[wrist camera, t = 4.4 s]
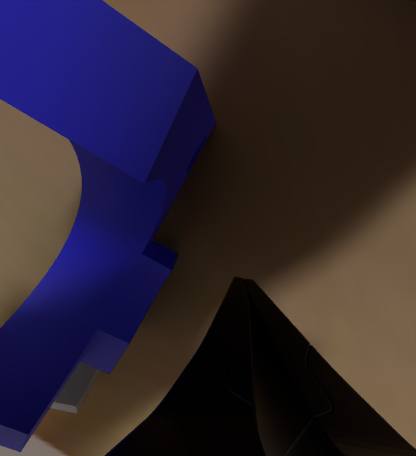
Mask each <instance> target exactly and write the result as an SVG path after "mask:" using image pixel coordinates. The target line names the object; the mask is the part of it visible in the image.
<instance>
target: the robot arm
mask: <svg viewBox="0 0 416 456" xmlns="http://www.w3.org/2000/svg"><path fill="white" fill-rule="evenodd" d="M105 456H416V449H415V448H414V447H413V446H412V445H410V444H409V443H408V442H407V441H406V440H405V439H404V438H403V437H402V436H401V435H400V434H399V433H398V432H397V431H396V430H395V429H394V428H393V427H392V426H390V425H389V424H388V423H387V422H386V421H385V420H384V419H383V418H382V417H381V416H380V415H379V414H378V413H377V412H376V411H375V410H374V409H373V408H372V407H371V406H370V405H369V404H368V403H367V402H366V401H365V400H364V399H363V398H362V397H361V396H360V395H359V394H358V393H357V392H356V391H355V390H354V389H353V388H352V387H351V386H350V385H349V384H348V383H347V382H346V381H345V380H344V379H343V378H342V377H341V376H340V375H339V374H338V373H337V372H336V371H335V370H334V369H333V368H332V367H331V366H330V365H329V363H328V362H327V361H326V360H325V359H324V358H323V357H322V356H321V355H320V354H319V353H318V351H317V350H316V349H315V348H314V347H313V346H312V345H310V343H309V342H308V340H307V339H306V338H305V337H304V336H303V335H302V334H301V333H300V332H299V330H298V329H297V328H296V327H295V326H294V325H293V324H292V323H291V321H290V320H289V319H288V318H287V317H286V316H285V315H284V314H283V313H282V311H281V310H280V309H279V308H278V307H277V306H276V305H275V304H274V302H273V301H272V300H271V299H270V298H269V297H268V296H267V295H266V294H265V292H264V291H263V290H262V289H261V288H260V287H259V286H258V285H257V284H256V282H255V281H254V280H251V279H243V278H240V277H234V278H233V280H232V282H231V284H230V286H229V289H228V291H227V293H226V295H225V297H224V299H223V301H222V303H221V305H220V307H219V309H218V311H217V313H216V315H215V318H214V320H213V322H212V324H211V326H210V328H209V330H208V332H207V334H206V336H205V338H204V339H203V341H202V343H201V345H200V347H199V348H198V350H197V351H196V353H195V354H194V356H193V358H192V359H191V361H190V362H189V363H188V365H187V366H186V368H185V369H184V371H183V372H182V373H181V375H180V376H179V378H178V379H177V381H176V382H175V383H174V385H173V386H172V388H171V389H170V391H169V392H168V393H167V395H166V396H165V397H164V399H163V400H162V401H161V402H160V404H159V405H158V406H157V407H156V409H155V410H154V411H153V412H152V413H151V414H150V415H149V416H148V417H147V418H146V419H145V420H144V421H143V422H142V423H141V424H139V425H138V426H137V427H136V428H135V429H134V430H133V431H132V432H130V433H129V434H128V435H127V436H126V437H125V438H124V439H123V440H122V441H120V442H119V443H118V444H117V445H116V446H115V447H114V448H113V449H111V450H110V451H109V452H108V453H107V454H106V455H105Z"/></svg>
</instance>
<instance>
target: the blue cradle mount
mask: <svg viewBox="0 0 416 456" xmlns="http://www.w3.org/2000/svg"><path fill="white" fill-rule="evenodd" d="M0 99H1V100H3V101H5V102H6V103H8V104H10V105H12V106H13V107H15V108H17V109H18V110H20V111H22V112H23V113H25V114H27V115H29V116H30V117H32V118H34V119H35V120H37V121H39V122H40V123H42V124H44V125H45V126H47V127H49V128H51V129H52V130H54V131H56V132H57V133H59V134H61V135H62V136H64V137H66V138H68V139H69V140H70V142H71V144H72V145H73V148H74V150H75V152H76V154H77V157H78V160H79V164H80V168H81V175H82V193H81V201H80V206H79V210H78V214H77V217H76V220H75V223H74V225H73V228H72V230H71V233H70V235H69V237H68V239H67V241H66V243H65V245H64V247H63V248H62V250H61V252H60V254H59V255H58V257H57V259H56V260H55V262H54V263H53V265H52V266H51V268H50V269H49V271H48V272H47V274H46V275H45V276H44V278H43V279H42V280H41V282H40V283H39V284H38V286H37V287H36V288H35V289H34V291H33V292H32V293H31V295H30V296H29V297H28V298H27V299H26V300H25V302H24V303H23V304H22V305H21V306H20V307H19V309H18V310H17V311H16V312H15V313H14V314H13V315H12V316H11V318H10V319H9V320H8V321H7V322H6V323H5V324H4V325H3V326H2V327H1V328H0V445H1V446H4V447H7V448H10V449H13V450H16V451H19V452H21V451H22V449H23V448H24V446H25V445H26V443H27V442H28V440H29V439H30V437H31V435H32V434H33V433H34V431H35V429H36V428H37V426H38V425H39V423H40V422H41V420H42V419H43V417H44V416H45V414H46V413H47V411H48V410H49V408H50V407H51V405H52V404H53V402H54V401H55V399H56V398H57V396H58V395H59V393H60V392H61V390H62V389H63V387H64V386H65V384H66V383H67V381H68V380H69V378H70V376H71V375H72V373H73V372H74V370H75V369H76V367H77V366H78V364H79V363H80V362H82V363H85V364H87V365H89V366H92V367H94V368H97V369H99V370H101V371H104V372H106V373H108V374H110V373H111V371H112V369H113V368H114V366H115V365H116V363H117V362H118V360H119V359H120V357H121V356H122V354H123V353H124V351H125V350H126V348H127V347H128V345H129V344H130V342H131V340H132V338H133V336H134V334H135V333H136V331H137V329H138V327H139V325H140V324H141V322H142V320H143V318H144V316H145V315H146V313H147V311H148V309H149V308H150V306H151V304H152V302H153V301H154V299H155V297H156V296H157V294H158V292H159V290H160V289H161V287H162V285H163V284H164V282H165V281H166V279H167V277H168V276H169V274H170V273H171V271H172V269H173V267H174V264H175V262H176V259H177V257H178V254H177V253H175V252H173V251H171V250H169V249H168V248H166V247H164V246H162V245H160V244H158V243H157V242H155V241H153V240H152V239H153V237H154V236H155V234H156V232H157V230H158V228H159V226H160V225H161V223H162V221H163V219H164V217H165V215H166V214H167V212H168V210H169V208H170V206H171V204H172V203H173V201H174V199H175V197H176V195H177V193H178V192H179V190H180V188H181V186H182V184H183V182H184V181H185V179H186V177H187V175H188V173H189V171H190V170H191V168H192V166H193V164H194V162H195V160H196V159H197V157H198V155H199V153H200V151H201V149H202V147H203V146H204V144H205V142H206V140H207V138H208V136H209V135H210V133H211V131H212V129H213V127H214V125H215V124H216V122H215V119H214V116H213V113H212V110H211V107H210V104H209V101H208V98H207V95H206V92H205V89H204V86H203V83H202V81H201V78H200V75H199V72H198V69H197V68H196V67H195V66H193V65H192V64H190V63H189V62H188V61H186V60H185V59H183V58H182V57H181V56H179V55H178V54H176V53H175V52H174V51H172V50H171V49H169V48H168V47H167V46H165V45H164V44H162V43H161V42H160V41H158V40H157V39H155V38H154V37H153V36H151V35H150V34H148V33H147V32H146V31H144V30H143V29H141V28H140V27H139V26H137V25H136V24H134V23H133V22H132V21H130V20H129V19H127V18H126V17H125V16H123V15H122V14H120V13H119V12H118V11H116V10H115V9H113V8H112V7H111V6H109V5H108V4H106V3H105V2H104V1H102V0H0Z"/></svg>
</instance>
